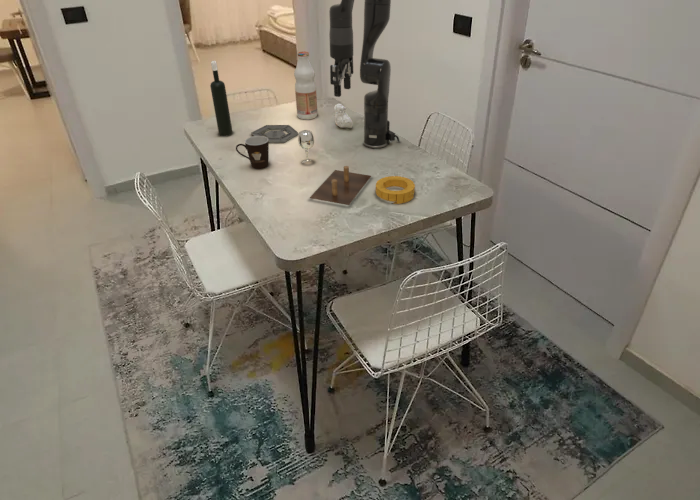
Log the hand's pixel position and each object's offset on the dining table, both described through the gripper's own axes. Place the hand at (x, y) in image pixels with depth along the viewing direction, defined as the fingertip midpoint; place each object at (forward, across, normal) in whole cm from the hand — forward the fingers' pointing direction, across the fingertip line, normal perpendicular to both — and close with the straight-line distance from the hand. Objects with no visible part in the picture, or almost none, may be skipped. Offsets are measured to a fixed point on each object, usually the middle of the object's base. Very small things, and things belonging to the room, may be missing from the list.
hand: (342, 92), depth 165 cm
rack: (+28, -15, -5) cm, 32 cm away
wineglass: (+28, 0, +15) cm, 32 cm away
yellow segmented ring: (+28, -12, -23) cm, 39 cm away
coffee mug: (+28, -8, +32) cm, 44 cm away
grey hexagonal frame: (+28, +20, +40) cm, 53 cm away
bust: (+28, +38, +16) cm, 50 cm away
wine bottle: (+28, +14, +61) cm, 68 cm away
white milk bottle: (+28, +45, +36) cm, 64 cm away
